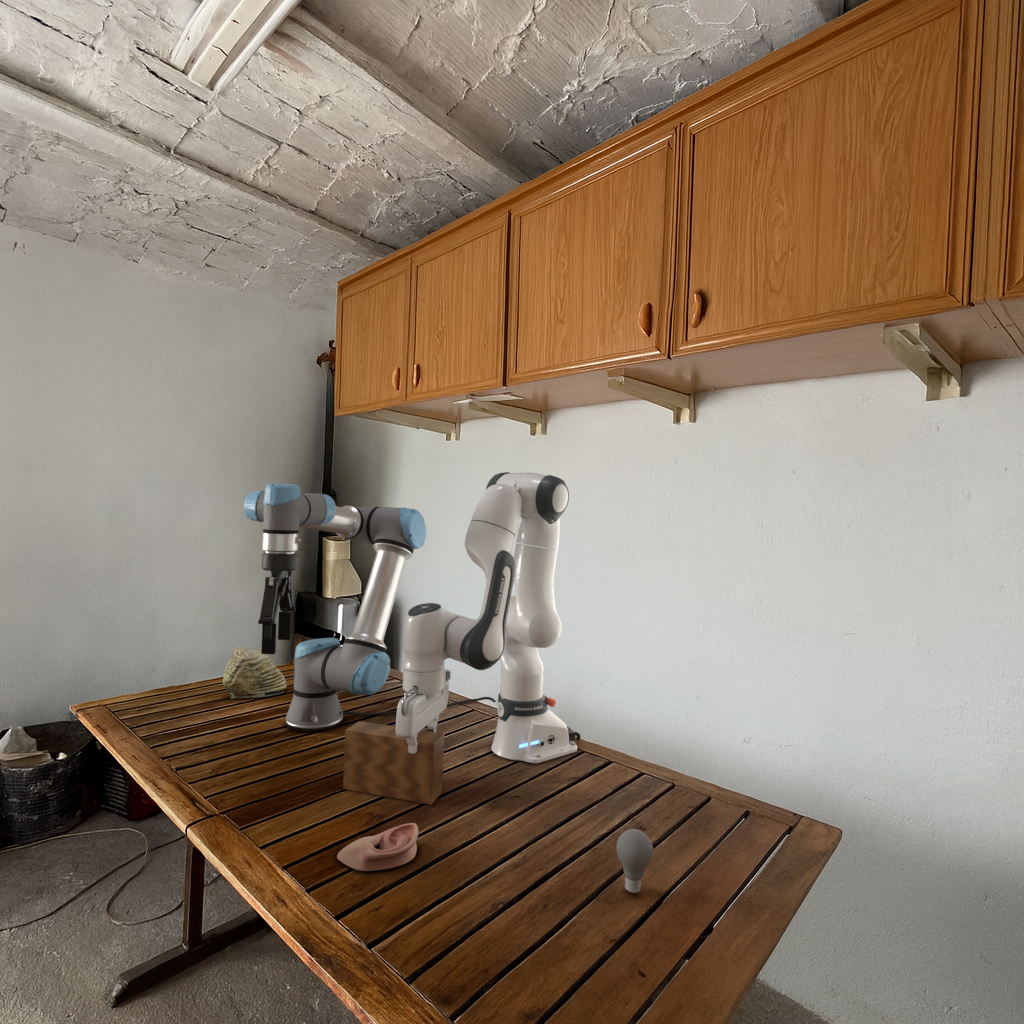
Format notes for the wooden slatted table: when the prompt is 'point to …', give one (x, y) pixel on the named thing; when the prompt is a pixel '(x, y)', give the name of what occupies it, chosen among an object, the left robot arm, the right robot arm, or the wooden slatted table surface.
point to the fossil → (252, 674)
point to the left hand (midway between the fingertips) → (276, 646)
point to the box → (393, 763)
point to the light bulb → (634, 857)
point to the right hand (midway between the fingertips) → (422, 743)
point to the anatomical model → (382, 849)
